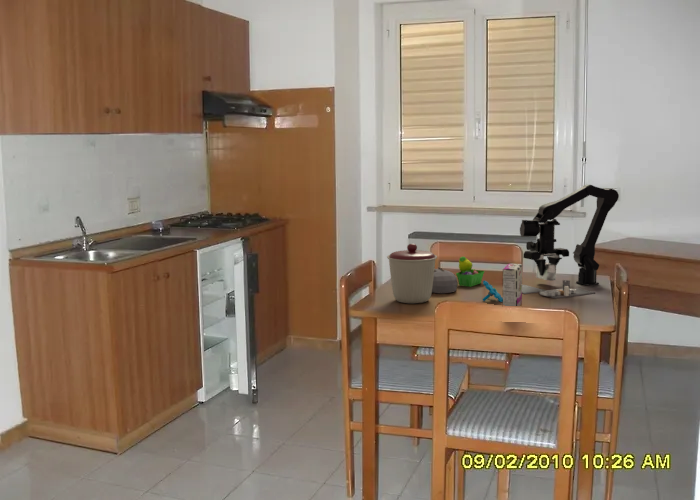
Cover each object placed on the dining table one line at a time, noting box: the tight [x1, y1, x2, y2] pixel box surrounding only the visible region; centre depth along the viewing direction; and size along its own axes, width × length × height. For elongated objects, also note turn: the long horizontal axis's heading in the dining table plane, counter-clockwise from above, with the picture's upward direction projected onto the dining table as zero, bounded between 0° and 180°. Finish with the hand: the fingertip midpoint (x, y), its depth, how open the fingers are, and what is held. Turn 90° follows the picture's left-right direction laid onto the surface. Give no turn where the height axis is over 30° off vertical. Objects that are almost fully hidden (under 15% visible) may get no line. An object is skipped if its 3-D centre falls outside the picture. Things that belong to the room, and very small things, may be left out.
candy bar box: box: [502, 263, 523, 307], centre depth 239 cm, size 11×5×16 cm, turn 158°
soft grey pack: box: [431, 267, 459, 294], centre depth 284 cm, size 15×8×20 cm
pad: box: [522, 284, 546, 295], centre depth 282 cm, size 10×13×1 cm
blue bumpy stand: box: [482, 280, 503, 303], centre depth 262 cm, size 11×6×10 cm
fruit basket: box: [455, 256, 485, 288], centre depth 294 cm, size 11×9×11 cm
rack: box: [539, 279, 576, 297], centre depth 270 cm, size 13×5×4 cm, turn 115°
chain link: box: [535, 261, 557, 281], centre depth 290 cm, size 4×10×6 cm, turn 25°
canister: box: [386, 243, 438, 304], centre depth 263 cm, size 18×18×21 cm
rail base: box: [538, 286, 596, 299], centre depth 272 cm, size 19×9×4 cm, turn 115°
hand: (546, 275), depth 291 cm, fingers closed on chain link, 4 cm apart
